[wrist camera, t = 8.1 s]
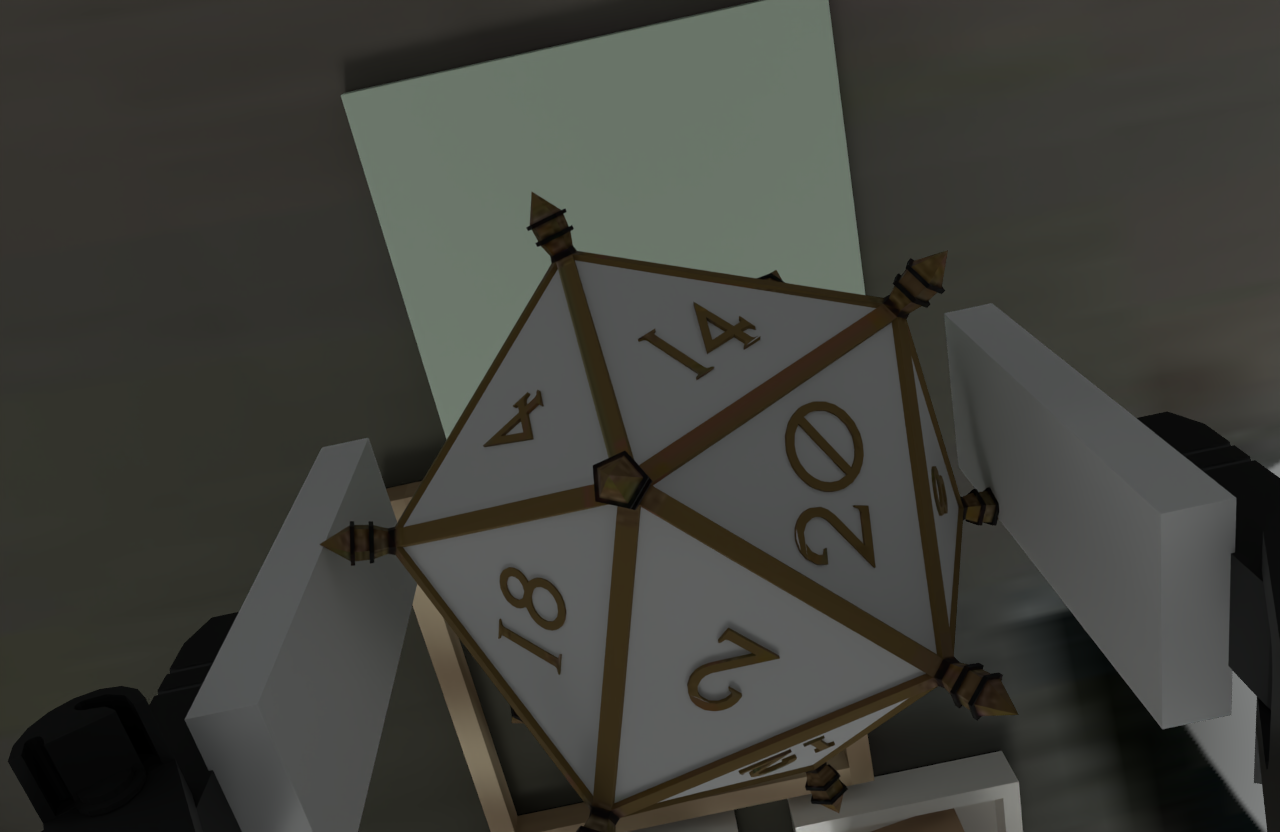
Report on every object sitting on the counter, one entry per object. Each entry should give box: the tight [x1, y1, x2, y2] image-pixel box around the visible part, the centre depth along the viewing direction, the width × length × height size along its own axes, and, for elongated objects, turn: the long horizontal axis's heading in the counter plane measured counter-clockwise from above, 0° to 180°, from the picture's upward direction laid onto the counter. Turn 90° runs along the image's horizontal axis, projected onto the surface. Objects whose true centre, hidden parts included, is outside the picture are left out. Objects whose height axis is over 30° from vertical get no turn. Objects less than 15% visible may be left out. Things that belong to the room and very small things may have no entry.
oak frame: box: [386, 481, 874, 832], centre depth 35 cm, size 15×14×1 cm
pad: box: [341, 0, 865, 439], centre depth 30 cm, size 11×13×1 cm
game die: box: [319, 192, 1018, 832], centre depth 15 cm, size 9×8×10 cm
